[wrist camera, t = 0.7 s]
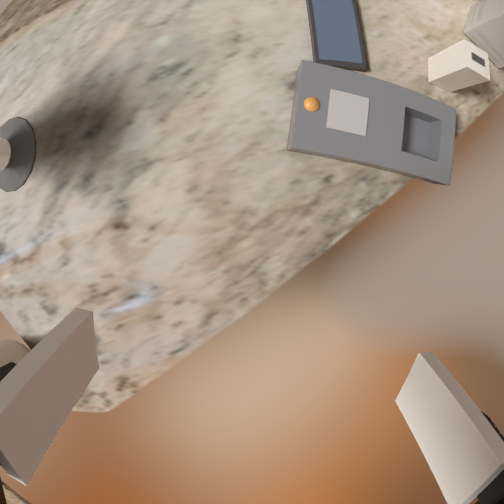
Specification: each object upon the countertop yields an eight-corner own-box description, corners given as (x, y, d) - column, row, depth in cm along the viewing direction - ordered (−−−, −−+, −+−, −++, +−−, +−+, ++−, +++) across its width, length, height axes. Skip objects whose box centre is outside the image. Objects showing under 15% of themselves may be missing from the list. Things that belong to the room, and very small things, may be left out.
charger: (428, 58, 29) (465, 38, 20) (450, 68, 29) (488, 53, 20) (428, 82, 30) (467, 66, 21) (450, 92, 30) (491, 80, 21)
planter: (11, 374, 43) (-16, 403, 32) (-3, 324, 39) (-37, 351, 29) (55, 395, 43) (30, 430, 33) (43, 344, 40) (9, 378, 30)
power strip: (296, 71, 30) (302, 59, 26) (439, 112, 31) (456, 108, 27) (286, 150, 33) (291, 147, 29) (432, 183, 34) (450, 185, 30)
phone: (304, -13, 27) (305, -17, 26) (350, -8, 27) (352, -11, 26) (314, 67, 30) (315, 64, 29) (363, 71, 30) (367, 69, 29)
